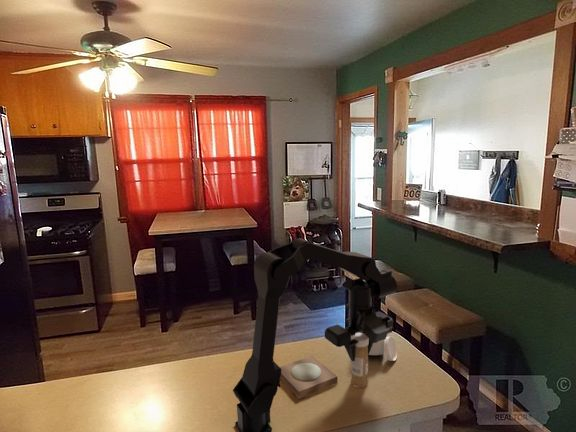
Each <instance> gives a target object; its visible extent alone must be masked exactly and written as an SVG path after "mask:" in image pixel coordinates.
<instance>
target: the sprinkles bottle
mask: <svg viewBox="0 0 576 432" xmlns="http://www.w3.org/2000/svg"><path fill="white" fill-rule="evenodd" d="M355 340H357V341H359V342H358V343H357V344H356V345H355V361H352V360H351V359H350V361H351V364H350V365H351V366H350V371H351V372H350V373H351V379H350V382H351V384H352V385H353V386H354V387H357V388H365V387H367V386H368V384H369V379H368V377H369V376H368V375H369V358H368V344H369V338H368V337H367V336H366V335H365V334H364V333H357V334H355Z"/></svg>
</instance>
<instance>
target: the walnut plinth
mask: <svg viewBox="0 0 576 432" xmlns="http://www.w3.org/2000/svg"><path fill="white" fill-rule="evenodd" d="M279 367H280V368H281V376H280V380H281V381H282V382H283V383H284V384H285V386H287V388H288V389H289V390H290V391H291V392H292V393H293V394H294V395H295V396H296V397H297V398H298V399H299V400H300V399H302V398H303V399H304V398H305V397H308V396H310V395H312V394H315V393H317V392H320V391H322V390H324V389H327V388H330V387H331V386H333V385H337V384H338V375H336V374H335V373H334V372H333V371H332V370H330V369H329V368H328V367H327V366H326V365H324V363H322V362H321V361H320V360H318V359H317V358H316V357H315V356H314V355H309V356H308V357H304V358H301V359H299V360H296V361H293V362H291V363H287V364H284V365H281V366H279Z"/></svg>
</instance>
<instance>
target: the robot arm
mask: <svg viewBox="0 0 576 432" xmlns="http://www.w3.org/2000/svg"><path fill="white" fill-rule="evenodd" d="M309 260H311V261H314V262H318V263H320V264H325V265H329V266H333V267H335V268H339V269H340V270H341V271H344V272H345V273H348V275H349V274H350V275H352V276H354V277H357V278H355V279H353V278H351V277H347V279H346V280H345V281H343V282H342V284H341V287H342V288H345V290H348V303H345V309H347V310H348V318H345V324H347V325H348V326H346V327H343V326H341V325H339V324H336V325H333V326H332V325H331V326H329V327H327V328H325V329H324V339H326V340H327V341H328V342H330V343H331V344H332V345H334V346H335V347H336V348H342V347H344V348H345V350H346V353H347V355H348V357H349V359H350V361H351V360H352V361H355V345H356V344H357V343H358V342H359V341H357V340H355V334H357V333H359V332H361V333H364V334H365V335H366V336H367V337H368V338H369V344H368V355H369V353H370V350H371V348H372V345H373V343H377V342H378V341H381V340H385V339H386V337H388V334H390V333H392V332H393V329H394V319H393V318H392V317H391V316H389V315H388V314H385V313H384V312H381V311H380V310H379V311H376V307H374V306H372V303H373V302H372V300H373V299H375V300H377V299H382V298H384V297H388V296H391V295H394V294H395V293H397V291H398V284H397V280H396V279H395V277H394V276H393V271H392V270H389V269H387V268H385V269H382V270H379V268H378V267H377V263H376V259H374V257H373V258H372V257H371V256H367V255H365V254H362V253H358V252H356V251H338V250H336V249H335V250H334V249H332V248H329V247H325V246H324V245H320V244H316V243H313V242H311V241H309V240H307V239H303V238H301V237H299V238H295V239H292V240H291V241H290V242H288V243H286V244H283V245H280V246H277V247H275V248H273V249H271V250H269V251H267V252H263V253H261V254H260V255H258V256H257V257H256V258H255V260H254V262H253V274H254V276H253V277H254V278H253V279H254V284H255V286H256V289H257V295H258V296H257V304H256V314H255V324H254V332H253V344H252V351H251V352H252V353H251V356H250V357H249V358H248V360H247V362H246V363H245V365H244V369H243V373H242V377H241V378H240V379H239V381H238V382H237V383H236V384H235V386H234V387H233V389H232V392H233V394H234V396H235V398H237V401H238V403H236V410H237V411H236V412H237V413H236V414H237V421H235V422H234V425H235V428H236V429H237V431H238V432H272V431H273V427H272V426H271V425H270V424H271V408H272V405H273V400H274V399H275V398H274V397H275V396H276V395H277V392H278V387H279V388H281V381H280V380H281V379H280V376H281V368H280V367H281V366H279V365H278V364H277V363H276V362H275V361H274V356H275V355H274V353H275V346H276V345H275V344H276V338H277V337H276V335H277V327H278V319H279V318H278V317H279V309H280V308H279V307H280V301H281V297H282V295H283V294H284V293H285V291H286V290H287V288H288V285H289V281H290V278H291V276H293V275H294V274H296V273H297V272H299V271H300V269H301V268H302V266H304V264H305V262H307V261H309Z"/></svg>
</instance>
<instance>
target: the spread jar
mask: <svg viewBox="0 0 576 432" xmlns="http://www.w3.org/2000/svg"><path fill="white" fill-rule="evenodd" d="M359 333H361V332H359ZM397 346H398V345H397V342H396V340H395V338H394V337H393V336H392V335H391V336H388V335H387V337H386V339H385V340H381V341H378V342H377V343H373V345H372V348H371V350H370V353H369V355H368V359H379V358H380V357H382V356H384V355H385V357H386V360H388V361H390V362H394V361H396V360H397V358H398V347H397Z"/></svg>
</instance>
